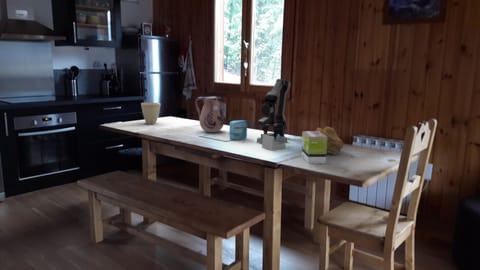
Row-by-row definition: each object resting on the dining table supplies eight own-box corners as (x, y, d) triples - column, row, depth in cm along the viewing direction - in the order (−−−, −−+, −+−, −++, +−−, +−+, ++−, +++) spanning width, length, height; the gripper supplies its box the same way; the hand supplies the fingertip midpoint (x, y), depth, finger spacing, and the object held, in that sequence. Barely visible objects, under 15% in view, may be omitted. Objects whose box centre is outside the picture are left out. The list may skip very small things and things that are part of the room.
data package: (233, 140, 251) (234, 122, 249) (229, 139, 254) (229, 121, 252) (246, 138, 259) (247, 120, 257) (242, 137, 262) (242, 119, 260)
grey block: (276, 145, 239) (277, 133, 238) (286, 148, 232) (287, 135, 231) (262, 147, 233) (262, 134, 231) (271, 150, 226) (272, 137, 224)
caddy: (275, 139, 253) (276, 132, 252) (280, 140, 249) (280, 133, 248) (260, 141, 245) (260, 134, 244) (265, 143, 242) (265, 135, 241)
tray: (277, 139, 257) (277, 135, 256) (287, 142, 249) (287, 138, 249) (256, 142, 247) (257, 138, 246) (266, 145, 239) (266, 140, 239)
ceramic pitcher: (222, 134, 270) (223, 98, 265) (193, 133, 271) (193, 97, 266) (224, 129, 287) (225, 96, 283) (196, 128, 288) (196, 95, 283)
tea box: (300, 156, 214) (302, 130, 211) (318, 156, 215) (319, 130, 212) (307, 163, 199) (309, 136, 196) (326, 163, 200) (328, 136, 197)
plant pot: (147, 125, 295) (147, 105, 292) (138, 123, 306) (137, 103, 302) (164, 123, 305) (164, 104, 302) (154, 121, 316) (154, 102, 312)
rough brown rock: (334, 160, 210) (339, 134, 207) (306, 153, 219) (310, 128, 216) (347, 153, 230) (351, 129, 227) (321, 147, 238) (325, 124, 235)
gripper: (252, 112, 246) (251, 135, 249) (270, 116, 231) (269, 141, 234) (265, 111, 252) (264, 134, 256) (284, 115, 238) (283, 139, 241)
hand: (270, 137), depth 246 cm, fingers open, 9 cm apart
